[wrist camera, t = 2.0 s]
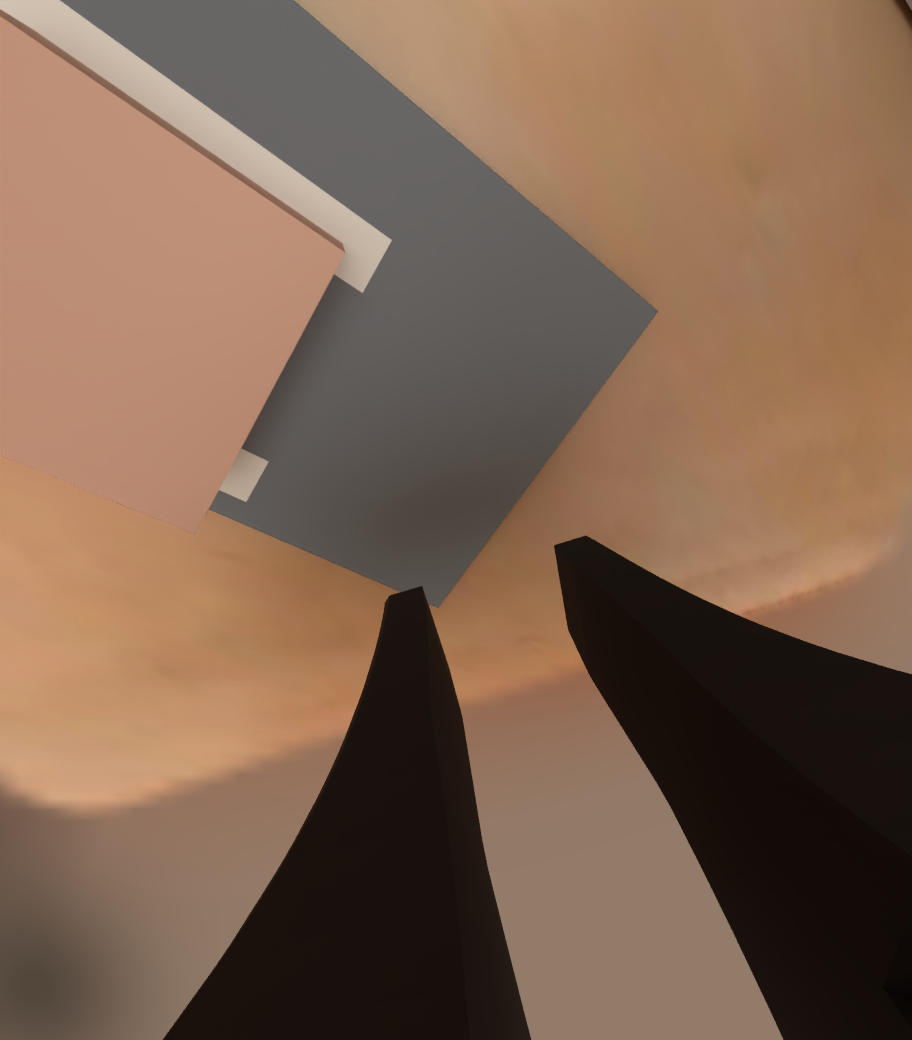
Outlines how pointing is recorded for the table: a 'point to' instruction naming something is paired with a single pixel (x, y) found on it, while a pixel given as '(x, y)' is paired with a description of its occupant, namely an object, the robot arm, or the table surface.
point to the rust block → (135, 289)
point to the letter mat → (375, 288)
